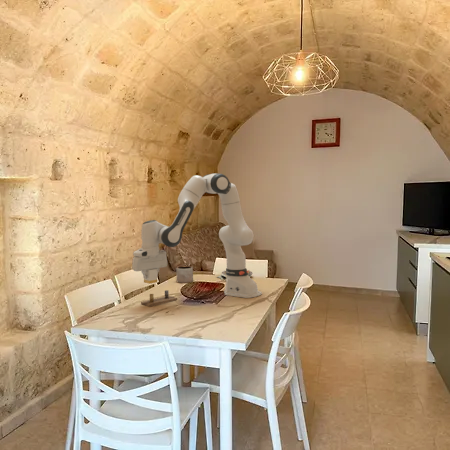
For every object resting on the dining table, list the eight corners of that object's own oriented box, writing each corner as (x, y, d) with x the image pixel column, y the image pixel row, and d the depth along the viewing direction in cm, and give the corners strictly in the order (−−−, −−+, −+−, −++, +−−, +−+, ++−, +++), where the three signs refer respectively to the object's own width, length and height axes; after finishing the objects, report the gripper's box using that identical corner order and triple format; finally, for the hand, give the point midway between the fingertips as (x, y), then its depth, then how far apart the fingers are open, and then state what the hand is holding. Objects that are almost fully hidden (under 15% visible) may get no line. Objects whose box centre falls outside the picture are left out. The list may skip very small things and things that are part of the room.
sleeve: (157, 282, 211) (157, 269, 211) (149, 283, 208) (149, 270, 207) (151, 280, 215) (151, 267, 214) (143, 282, 211) (143, 269, 211)
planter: (196, 280, 268) (196, 266, 268) (186, 284, 259) (186, 269, 259) (183, 279, 274) (183, 265, 274) (173, 282, 265) (172, 267, 264)
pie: (230, 273, 296) (230, 266, 296) (264, 276, 282) (264, 269, 282) (209, 280, 272) (209, 272, 272) (245, 284, 258) (245, 277, 258)
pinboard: (177, 299, 219) (176, 290, 219) (150, 306, 206) (149, 296, 206) (168, 297, 225) (167, 288, 225) (141, 304, 212) (140, 294, 212)
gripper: (162, 248, 220) (162, 273, 221) (130, 252, 205) (130, 279, 206) (169, 249, 215) (170, 275, 216) (137, 253, 201) (137, 281, 202)
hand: (150, 277), depth 211 cm, fingers closed on sleeve, 5 cm apart
